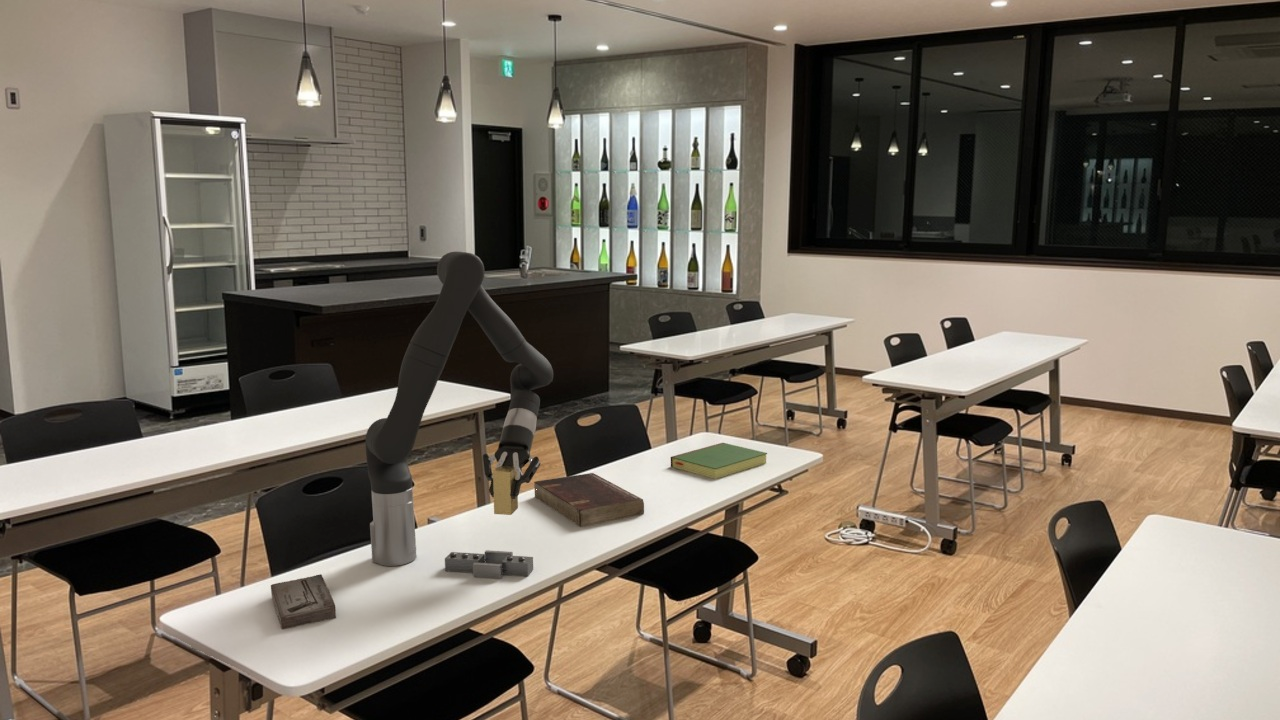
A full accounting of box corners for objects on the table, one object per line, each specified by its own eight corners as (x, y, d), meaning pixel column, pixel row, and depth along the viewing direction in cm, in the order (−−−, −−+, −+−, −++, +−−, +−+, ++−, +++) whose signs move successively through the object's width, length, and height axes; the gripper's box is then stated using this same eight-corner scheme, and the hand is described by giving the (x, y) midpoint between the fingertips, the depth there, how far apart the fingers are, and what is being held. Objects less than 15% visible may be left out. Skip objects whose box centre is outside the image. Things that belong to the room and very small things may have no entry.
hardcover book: (722, 453, 309) (722, 442, 308) (767, 464, 295) (767, 453, 295) (669, 468, 292) (668, 457, 291) (713, 481, 278) (713, 469, 278)
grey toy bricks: (441, 574, 210) (440, 560, 209) (455, 560, 218) (455, 546, 217) (524, 580, 206) (524, 565, 206) (536, 565, 214) (535, 551, 214)
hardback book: (644, 515, 249) (643, 497, 248) (580, 528, 240) (580, 510, 239) (594, 487, 274) (593, 471, 273) (534, 498, 264) (534, 481, 263)
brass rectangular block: (494, 513, 212) (493, 471, 210) (501, 507, 217) (500, 465, 215) (511, 515, 211) (510, 472, 210) (517, 508, 216) (517, 466, 215)
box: (322, 586, 204) (321, 572, 203) (337, 618, 189) (336, 604, 188) (270, 597, 199) (269, 584, 198) (281, 631, 184) (279, 617, 183)
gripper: (485, 422, 220) (468, 487, 210) (544, 424, 217) (529, 490, 207) (493, 438, 226) (477, 502, 216) (550, 441, 223) (536, 506, 213)
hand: (502, 496), depth 211 cm, fingers closed on brass rectangular block, 4 cm apart
